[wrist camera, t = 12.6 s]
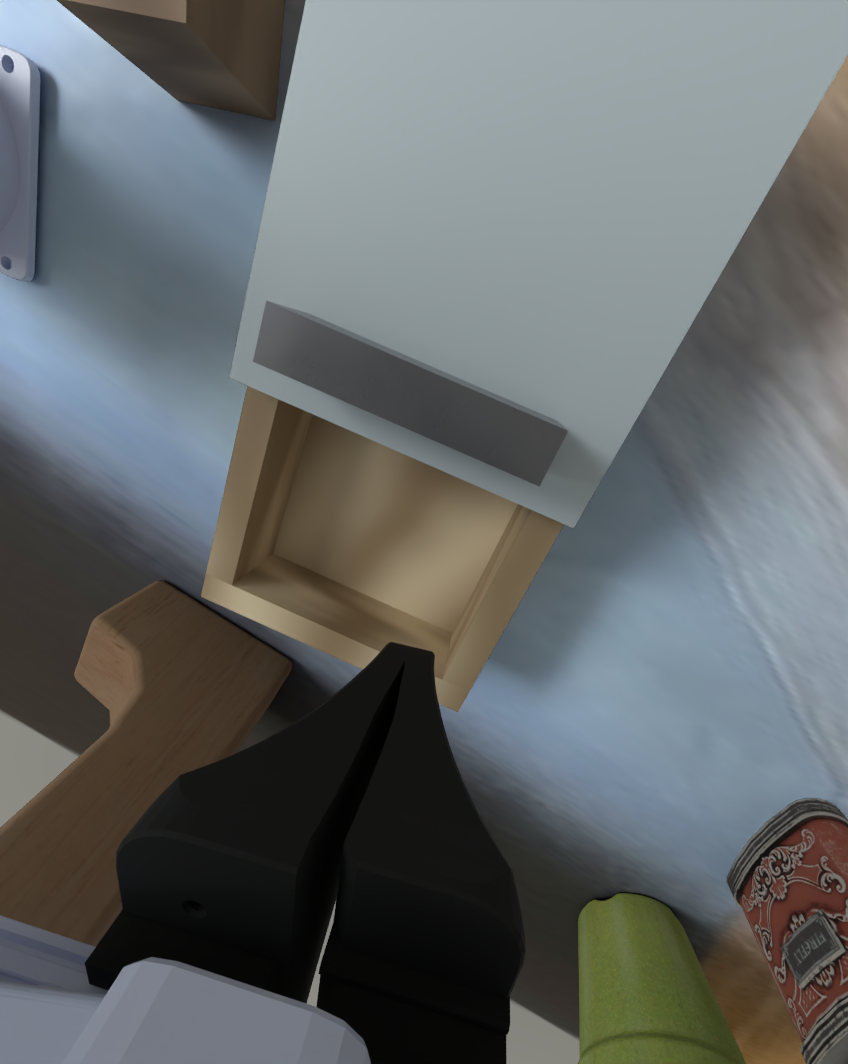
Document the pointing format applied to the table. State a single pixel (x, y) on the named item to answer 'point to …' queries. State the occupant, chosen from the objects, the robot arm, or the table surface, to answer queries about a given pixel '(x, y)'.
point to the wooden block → (133, 751)
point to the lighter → (802, 918)
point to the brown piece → (367, 546)
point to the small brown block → (198, 47)
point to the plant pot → (645, 989)
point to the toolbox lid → (515, 216)
